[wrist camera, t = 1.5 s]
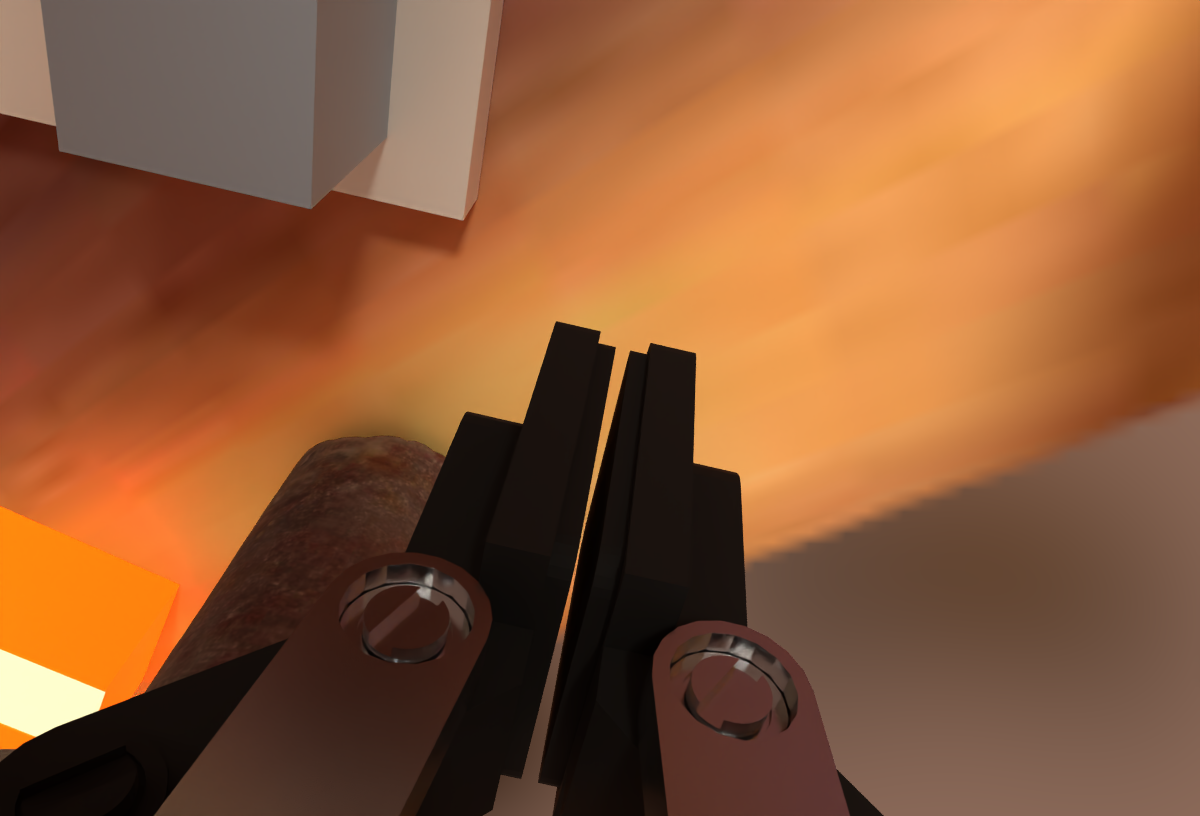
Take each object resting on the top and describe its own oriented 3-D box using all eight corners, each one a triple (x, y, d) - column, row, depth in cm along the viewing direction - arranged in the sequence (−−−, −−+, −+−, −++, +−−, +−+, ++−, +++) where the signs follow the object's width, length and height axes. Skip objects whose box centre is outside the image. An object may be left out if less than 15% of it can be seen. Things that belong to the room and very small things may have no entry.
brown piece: (314, 561, 39) (11, 1122, 22) (273, 415, 35) (-135, 961, 18) (491, 567, 38) (316, 1156, 21) (469, 418, 34) (232, 994, 17)
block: (172, -149, 23) (22, -143, 18) (404, -93, 23) (319, -72, 18) (183, 89, 26) (58, 150, 21) (387, 137, 27) (311, 209, 22)
